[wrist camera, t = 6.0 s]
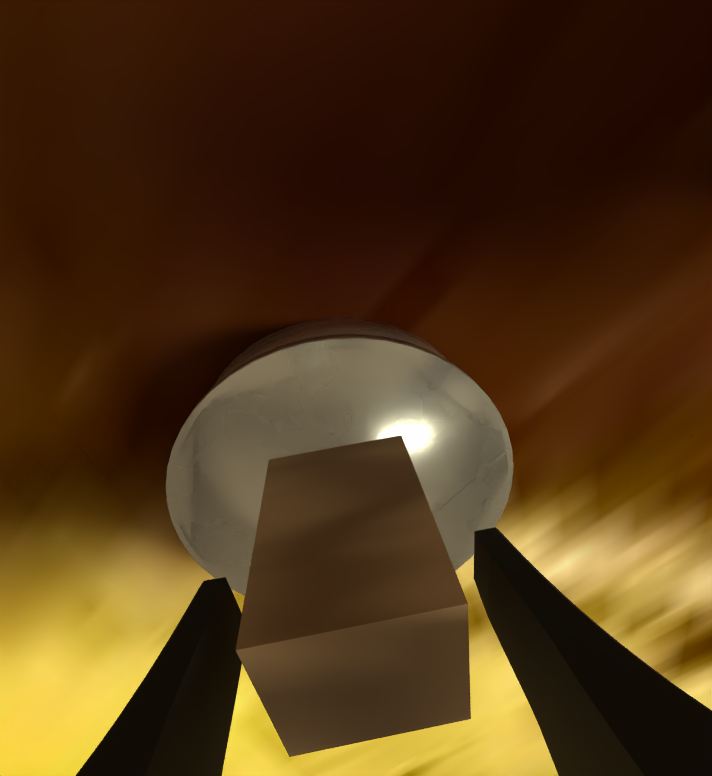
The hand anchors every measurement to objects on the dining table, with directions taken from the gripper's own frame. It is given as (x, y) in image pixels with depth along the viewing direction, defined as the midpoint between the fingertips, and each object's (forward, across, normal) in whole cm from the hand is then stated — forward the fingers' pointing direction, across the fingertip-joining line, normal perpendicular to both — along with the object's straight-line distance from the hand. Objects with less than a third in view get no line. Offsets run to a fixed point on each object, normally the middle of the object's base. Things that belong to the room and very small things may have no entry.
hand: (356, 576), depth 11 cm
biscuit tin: (+7, 0, 0) cm, 7 cm away
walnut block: (+3, 0, 0) cm, 3 cm away
